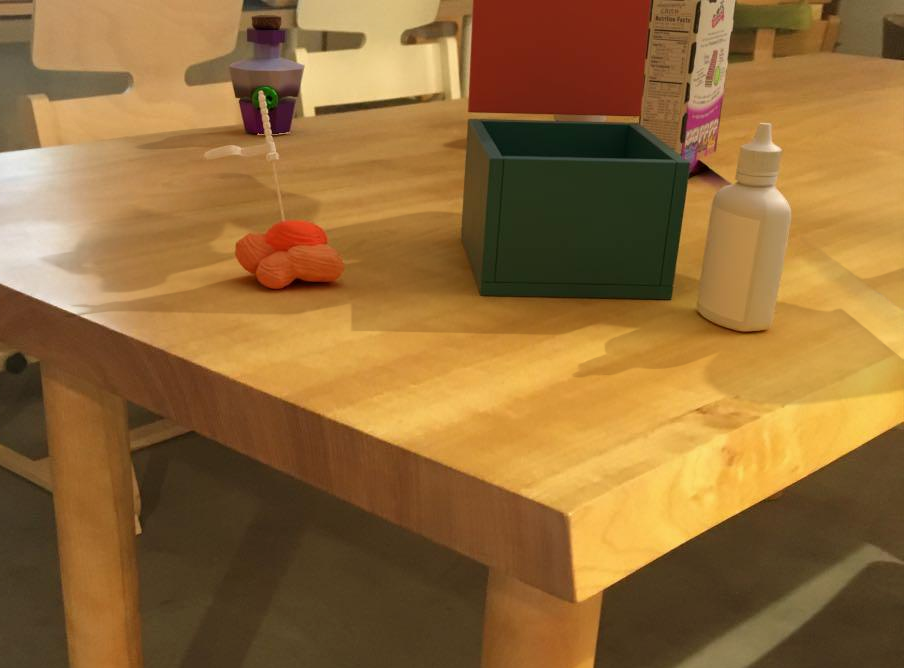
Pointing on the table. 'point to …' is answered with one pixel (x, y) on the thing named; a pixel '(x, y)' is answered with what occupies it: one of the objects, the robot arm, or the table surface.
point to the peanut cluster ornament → (282, 233)
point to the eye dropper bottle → (746, 241)
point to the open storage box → (572, 209)
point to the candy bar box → (687, 74)
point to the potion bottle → (266, 78)
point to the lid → (558, 57)
